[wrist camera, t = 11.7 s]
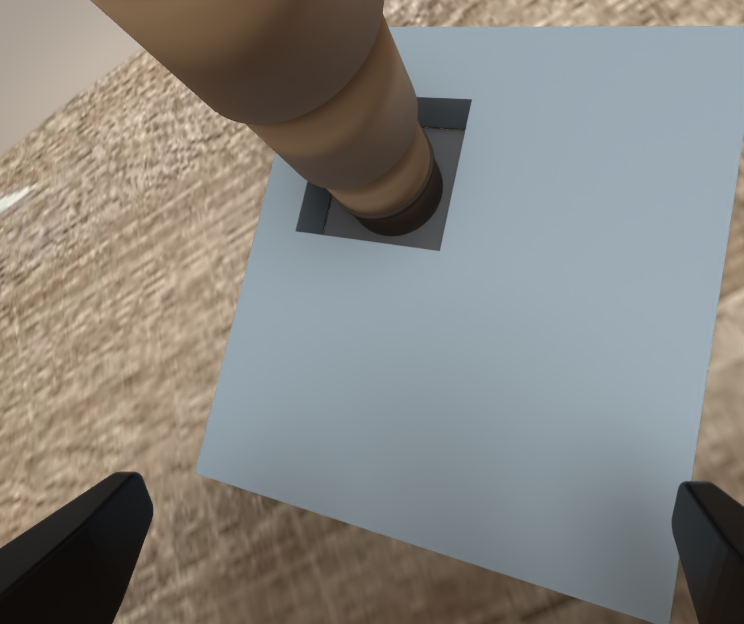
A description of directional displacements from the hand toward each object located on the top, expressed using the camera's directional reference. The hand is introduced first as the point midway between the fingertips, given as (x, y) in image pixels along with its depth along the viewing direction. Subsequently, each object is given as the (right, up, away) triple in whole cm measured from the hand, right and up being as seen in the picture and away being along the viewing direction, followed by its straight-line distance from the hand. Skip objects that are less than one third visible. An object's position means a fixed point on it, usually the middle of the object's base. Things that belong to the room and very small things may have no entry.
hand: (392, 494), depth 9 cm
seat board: (+3, +4, +9) cm, 10 cm away
